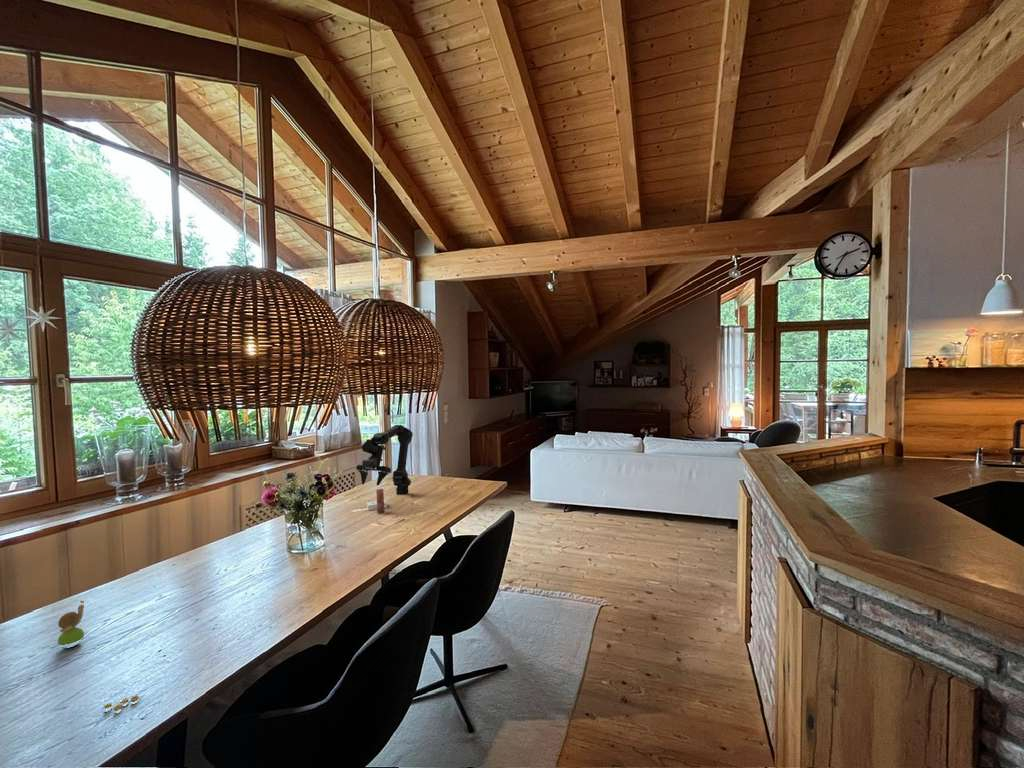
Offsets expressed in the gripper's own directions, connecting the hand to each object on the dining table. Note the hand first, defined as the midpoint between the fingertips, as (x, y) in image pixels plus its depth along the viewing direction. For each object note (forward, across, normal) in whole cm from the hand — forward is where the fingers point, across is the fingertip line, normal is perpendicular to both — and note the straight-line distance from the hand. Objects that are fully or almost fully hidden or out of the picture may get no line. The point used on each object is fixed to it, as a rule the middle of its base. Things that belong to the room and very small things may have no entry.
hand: (370, 485), depth 239 cm
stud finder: (+10, 0, +10) cm, 14 cm away
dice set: (+70, +26, -113) cm, 135 cm away
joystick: (+15, +8, +4) cm, 17 cm away
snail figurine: (+64, -15, -103) cm, 122 cm away
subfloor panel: (+12, -5, +10) cm, 16 cm away
